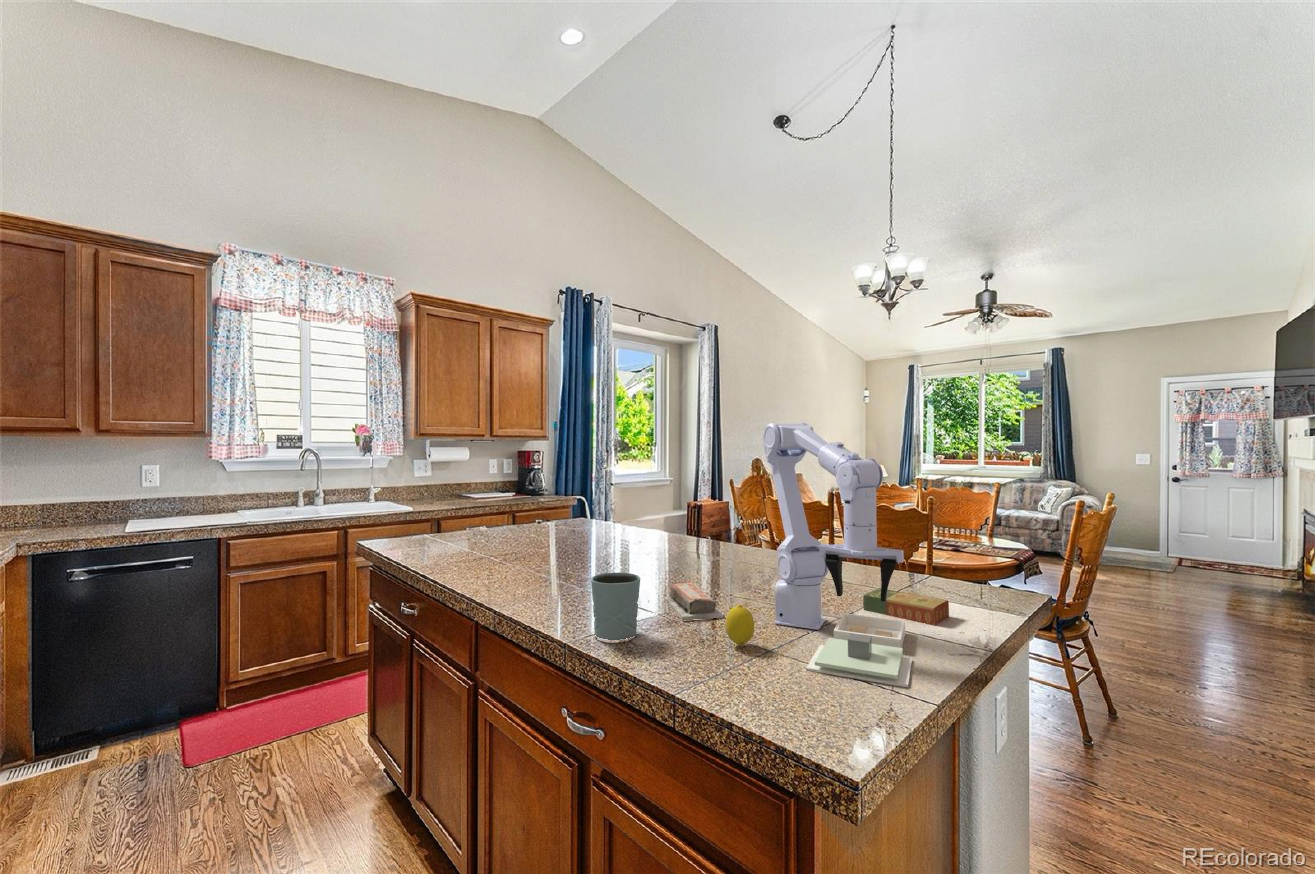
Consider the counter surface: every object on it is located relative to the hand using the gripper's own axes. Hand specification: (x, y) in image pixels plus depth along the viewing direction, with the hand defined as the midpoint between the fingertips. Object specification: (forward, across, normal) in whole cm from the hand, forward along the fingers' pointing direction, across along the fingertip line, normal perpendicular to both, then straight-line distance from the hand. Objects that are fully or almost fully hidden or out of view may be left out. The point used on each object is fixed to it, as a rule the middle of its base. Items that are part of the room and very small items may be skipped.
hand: (861, 597), depth 102 cm
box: (+10, 0, +9) cm, 14 cm away
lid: (+10, 0, -6) cm, 11 cm away
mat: (+10, 0, -6) cm, 12 cm away
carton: (+11, +5, +29) cm, 31 cm away
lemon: (+11, -22, -6) cm, 25 cm away
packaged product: (+11, -40, +12) cm, 43 cm away
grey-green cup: (+11, -46, -12) cm, 49 cm away
